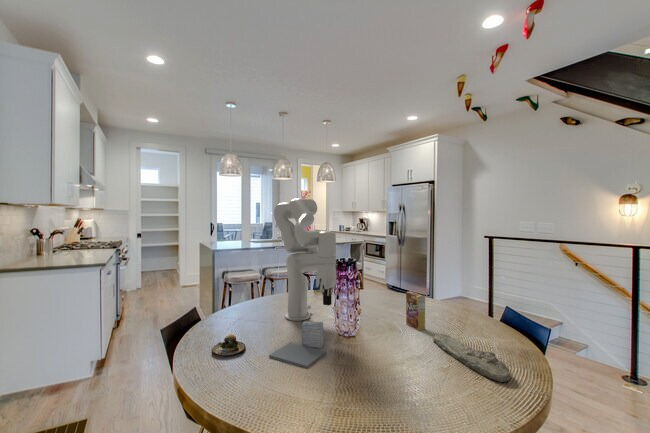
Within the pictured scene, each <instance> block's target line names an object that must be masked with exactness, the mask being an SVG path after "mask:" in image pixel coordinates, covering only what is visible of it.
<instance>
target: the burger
mask: <svg viewBox="0 0 650 433" xmlns="http://www.w3.org/2000/svg"><path fill="white" fill-rule="evenodd" d="M232 331H233V329H232V328H231V330H230V332H232ZM246 349H247V348H246V345H245V343H244V342H242V341H239V340H237V337H236V335H235V334H232V333H230V334H228V335H226V336H225V337H224V339H223V342H221V341H219V342H217V344H216V345H214V346H213V347H212V349H211V354H215V355H219V356H233V355H236V354H238V353H241V352H242V354H245V352H246Z"/></svg>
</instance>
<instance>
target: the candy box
mask: <svg viewBox="0 0 650 433" xmlns="http://www.w3.org/2000/svg"><path fill="white" fill-rule="evenodd" d="M405 320H406V321H405V324H406V325H407V326H409V327H412V328H413V329H415V330H417V331H423V330H425V329H426V295H423V294H421V293H417V292H415V291H413V290H412V291H406V292H405Z"/></svg>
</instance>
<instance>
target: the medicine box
mask: <svg viewBox="0 0 650 433" xmlns="http://www.w3.org/2000/svg"><path fill="white" fill-rule="evenodd" d="M323 344H324V322H323V321H307V320H303V323H302V324H301V345H304V346H308V347H312V348H316V349H319V348H320V349H321V348H323Z"/></svg>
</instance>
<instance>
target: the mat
mask: <svg viewBox="0 0 650 433" xmlns="http://www.w3.org/2000/svg"><path fill="white" fill-rule="evenodd" d="M326 354H327V351H326V350H323V349H321V348H320V349H319V348H317V347H308V346H304V345H302V344H299V343H295V342H291V341H290V342H288V343H287V344H285V345H283V346H282V347H279V348H278V349H277V350H275V351H274V352H272V353H270V354H268V357H269V358H271V359H274V360H277V361H281V362H284V363H287V364H291V365H295V366H298V367H301V368H303V369H309V368H310V366H312V365H313V364H314V363H316V362H317V361H319V359H321V358H323V356H324V355H326Z"/></svg>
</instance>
